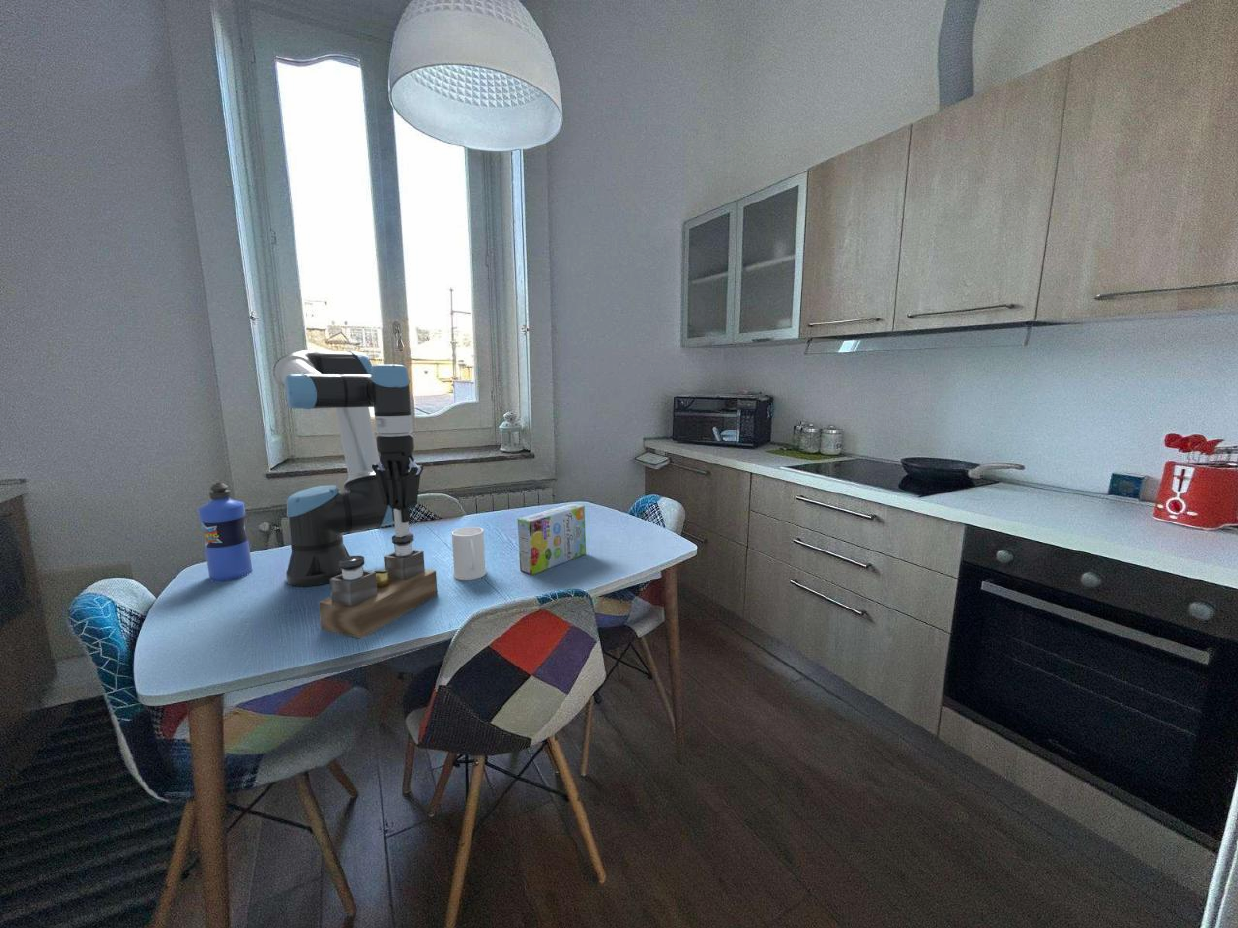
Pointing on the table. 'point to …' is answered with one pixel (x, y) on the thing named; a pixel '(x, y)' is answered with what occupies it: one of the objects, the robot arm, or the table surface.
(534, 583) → the table surface
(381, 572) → the screw
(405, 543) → the knob far
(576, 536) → the snack box
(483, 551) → the mug
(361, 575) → the knob near
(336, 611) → the mount
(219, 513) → the water bottle
